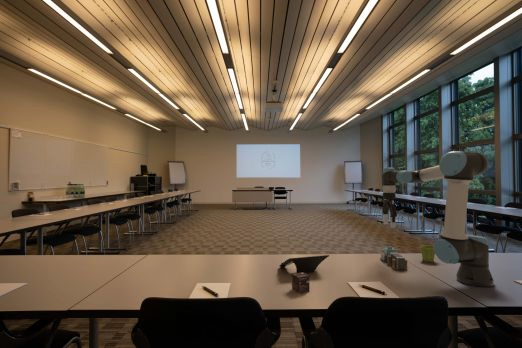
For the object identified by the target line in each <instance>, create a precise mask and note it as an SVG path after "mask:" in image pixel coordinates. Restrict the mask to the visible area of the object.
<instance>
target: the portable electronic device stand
mask: <svg viewBox="0 0 522 348" xmlns="http://www.w3.org/2000/svg"><path fill="white" fill-rule="evenodd" d="M328 257H330V254H325V255H312V256H303V257H302V256H299V257H290V258H288V259H286V260H285V261H283V262H281V264H279V268H280V269H284V268H286V267H287V266H289V265H292V264H294V266H295V268H296V272H295V273H305V274H314V273H315V272H316V269H317V268H319V266H320V264H321V263H322V262H323V261H324V260H326V259H327V258H328ZM313 272H314V273H313Z"/></svg>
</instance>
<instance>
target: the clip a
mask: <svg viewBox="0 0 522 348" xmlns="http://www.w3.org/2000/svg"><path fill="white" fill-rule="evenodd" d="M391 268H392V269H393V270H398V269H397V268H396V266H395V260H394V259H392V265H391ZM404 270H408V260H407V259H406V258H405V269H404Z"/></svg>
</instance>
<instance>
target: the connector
mask: <svg viewBox="0 0 522 348" xmlns="http://www.w3.org/2000/svg"><path fill="white" fill-rule="evenodd" d="M383 251H384V254H385V255H386V260H387V261H388V257H387V255H388V256H390V253H396V249H395V248H393V247H392V246H386V247H384V248H383Z"/></svg>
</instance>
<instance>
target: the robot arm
mask: <svg viewBox="0 0 522 348" xmlns="http://www.w3.org/2000/svg"><path fill="white" fill-rule="evenodd" d="M488 160H489V159H488V158H487V156H485V154H483V153H481V152H479V151H463V150H462V151H461V150H457V151H455V150H454V151H449V152H447V153H445V155H443V156H442V157H441V159H440V161H439V165H436V166H431V167H427V168H426V167H425V168H423V169H418V170H396V168H395V167H384V168H383V169H382V177H381V178H382V187H381V189H382V199H383V205H382V211H381V213H382V215H383V225H389V218H390V228H392V229H396V228H397V227H396V226H397V225H396V224H397V223H396V222H397V221H396V217H398V213H397V208H396V202H395V201H396V200H395V199H396V198H397V196H396V195H397V194H396V192H397V191H396V186H397V185H396V184H425V183H427V182H430V181H435V180H436V181H437V180H442V179H444V181H446V183H447V185H446V196H445V197H446V199H445V210H444V211H445V213H444V224H443V226H444V227H443V230H442V231H441V232H440V234H439V239H436V241H435V242H434V243H433V246H434V252H435V256H436V257H437V259H438V260H440V262H442V263H444V264H449V265H451V264H452V265H455V264H459V266H458V270H457V272H456V275H455V276H456V280H457V281H458V282H460V283H461V284H465V285H467V286H472V287H473V286H474V287H481V288H483V287H484V288H490V287H494V281H495V280H494V277H493V275H492V273H491V271H490V265H489V263H490V260H489V259H490V255H489V253H490V244H489V240H488V238H487V237H484V236H480V235H473V234H467V233H466V226H467V225H466V223H467V214H468V213H467V211H468V210H467V209H468V199H469V198H468V197H469V187H470V185H469V184H471V183H472V182H473V181H474V176H480V175H482V174H484V173H485V172H486V171H487V169H488V167H489V161H488ZM389 212H390V213H389ZM389 214H390V216H389Z"/></svg>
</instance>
